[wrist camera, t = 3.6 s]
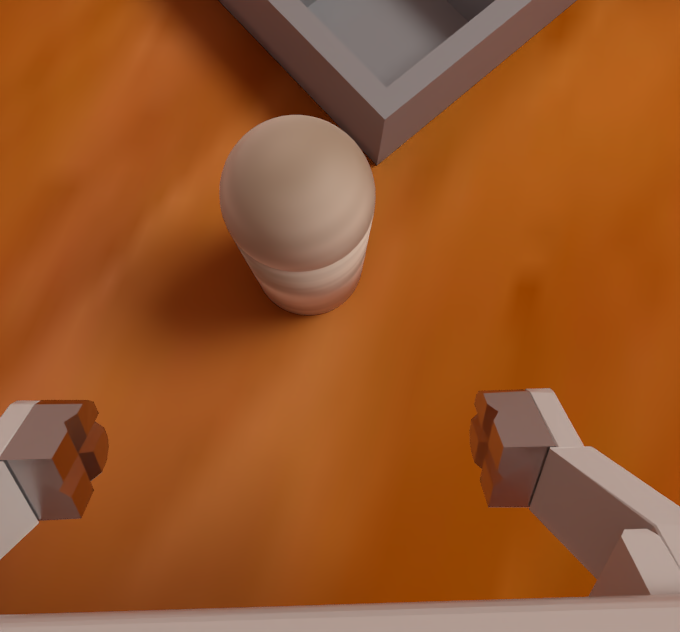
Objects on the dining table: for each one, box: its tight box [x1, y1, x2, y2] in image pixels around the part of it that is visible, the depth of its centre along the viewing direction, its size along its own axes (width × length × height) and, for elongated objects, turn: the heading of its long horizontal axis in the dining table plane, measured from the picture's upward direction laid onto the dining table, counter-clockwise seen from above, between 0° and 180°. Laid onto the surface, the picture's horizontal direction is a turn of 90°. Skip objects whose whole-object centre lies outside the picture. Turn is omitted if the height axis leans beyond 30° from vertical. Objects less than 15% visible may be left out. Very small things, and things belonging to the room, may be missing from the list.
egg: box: [219, 115, 375, 315], centre depth 18 cm, size 5×5×10 cm
